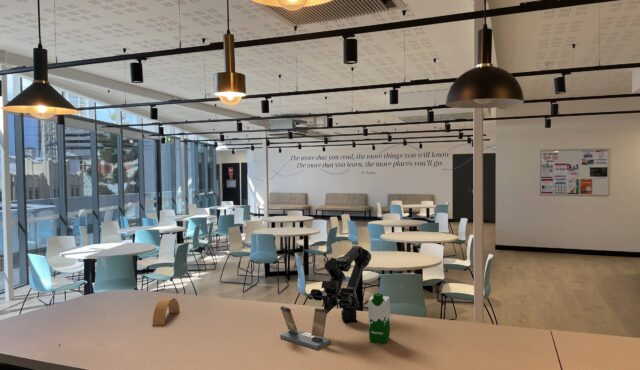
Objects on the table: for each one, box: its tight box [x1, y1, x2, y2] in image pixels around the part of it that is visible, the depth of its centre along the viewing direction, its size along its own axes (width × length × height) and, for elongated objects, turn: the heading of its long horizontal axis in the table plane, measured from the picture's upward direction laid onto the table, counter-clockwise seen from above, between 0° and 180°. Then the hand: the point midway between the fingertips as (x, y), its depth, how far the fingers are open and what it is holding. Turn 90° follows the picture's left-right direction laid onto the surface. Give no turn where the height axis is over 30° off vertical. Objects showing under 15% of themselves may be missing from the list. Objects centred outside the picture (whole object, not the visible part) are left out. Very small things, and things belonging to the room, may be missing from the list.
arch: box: [152, 297, 181, 326], centre depth 224 cm, size 6×20×10 cm, turn 175°
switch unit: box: [279, 329, 332, 351], centre depth 191 cm, size 9×21×2 cm, turn 50°
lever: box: [280, 305, 298, 332], centre depth 194 cm, size 2×5×11 cm, turn 38°
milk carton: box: [367, 293, 391, 345], centre depth 190 cm, size 9×9×20 cm
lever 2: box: [311, 307, 328, 338], centre depth 188 cm, size 2×5×11 cm, turn 62°
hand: (325, 313), depth 193 cm, fingers closed
